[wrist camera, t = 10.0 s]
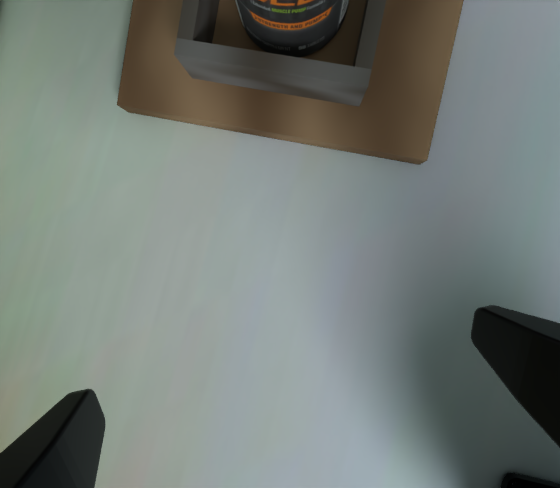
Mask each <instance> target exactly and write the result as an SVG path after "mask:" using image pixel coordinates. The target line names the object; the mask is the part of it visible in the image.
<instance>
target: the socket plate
mask: <svg viewBox="0 0 560 488" xmlns="http://www.w3.org/2000/svg"><path fill="white" fill-rule="evenodd" d="M463 1H464V0H349V4H348V9H347V13H346V16H345V19H344V21H343V23H342V25H341V27H340V29H339V31H338V32H337V33H336V35H335V36H334V37H333V39H332V40H331V41H330V42H329V43H328V44H326V45H325V46H324V47H323V48H321V49H320V50H318V51H316V52H314V53H312V54H309V55H307V56H303V57H299V58H298V57H292V56H286V55H280V54H273V53H267V52H266V51H264V50H262V49H261V48H260V47H258V46H257V45H256V44H255V43H254V42H253V41H252V40H251V38H250V37H249V36H248V34H247V33H246V30H245V28H244V26H243V24H242V21H241V18H240V15H239V12H238V8H237V5H236V2H235V0H133V5H132V12H131V18H130V24H129V31H128V37H127V44H126V50H125V56H124V63H123V69H122V76H121V82H120V88H119V95H118V101H117V105H118V106H120V107H121V108H123V109H124V110H126V111H127V112H130V113H136V114H141V115H147V116H152V117H158V118H164V119H169V120H175V121H180V122H186V123H191V124H197V125H202V126H208V127H214V128H219V129H225V130H230V131H236V132H241V133H247V134H252V135H258V136H264V137H269V138H275V139H280V140H286V141H291V142H297V143H302V144H308V145H314V146H319V147H325V148H330V149H336V150H341V151H347V152H352V153H358V154H364V155H369V156H375V157H380V158H386V159H391V160H397V161H402V162H408V163H414V164H421V163H423V162H425V161H427V159H428V154H429V150H430V146H431V141H432V137H433V132H434V128H435V124H436V119H437V115H438V111H439V106H440V102H441V97H442V93H443V89H444V84H445V80H446V75H447V71H448V67H449V62H450V58H451V53H452V49H453V45H454V40H455V36H456V32H457V27H458V23H459V18H460V14H461V10H462V5H463Z"/></svg>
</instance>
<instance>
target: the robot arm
mask: <svg viewBox="0 0 560 488" xmlns="http://www.w3.org/2000/svg"><path fill="white" fill-rule="evenodd" d="M471 339H472V342H473V344H474V345H475V347H476V348H477V349H478V351H479V352H480V353H481V355H482V356H483V357H484V359H485V360H486V361H487V362H488V364H489V365H490V366H491V368H492V369H493V370H494V372H495V373H496V374H497V375H498V377H499V378H500V379H501V381H502V382H503V383H504V385H505V386H506V387H507V388H508V390H509V391H510V392H511V394H512V395H513V396H514V397H515V399H516V400H517V401H518V402H519V403H520V404H521V406H522V407H523V408H524V409H525V410H526V411H527V412H528V413H529V414H530V416H531V417H532V418H533V419H534V420H535V421H536V422H537V423H538V424H539V426H540V427H541V428H542V429H543V430H544V431H545V432H546V433H547V434H548V435H549V437H550V438H551V439H552V440H553V441H554V442H555V443H556V444H557V445H558V447H559V448H560V323H557V322H553V321H550V320H546V319H543V318H539V317H535V316H532V315H528V314H524V313H521V312H517V311H514V310H510V309H506V308H503V307H499V306H495V305H489V306H485V307H480V308H478V309H476V311H475V313H474V318H473V324H472V330H471ZM104 432H105V417H104V414H103V412H102V409H101V407H100V404H99V401H98V399H97V396H96V394H95V392H94V391H93V390H92V389H85V390H80V391H75V392H71V393H69V394H68V395H66V396H65V397H64V398H63V399H62V400H60V401H59V402H58V403H57V404H56V405H55V406H54V407H53V408H51V409H50V410H49V411H48V412H47V413H46V414H45V415H43V416H42V417H41V418H40V419H39V420H38V421H37V422H35V423H34V424H33V425H32V426H31V427H30V428H29V429H27V430H26V431H25V432H24V433H23V434H22V435H21V436H20V437H18V438H17V439H16V440H15V441H14V442H13V443H12V444H10V445H9V446H8V447H7V448H6V449H5V450H4V451H2V452H1V453H0V488H94V487H95V481H96V476H97V470H98V465H99V459H100V454H101V448H102V443H103V437H104ZM514 482H516V483H515V484H513V483H514ZM512 484H513V485H512ZM501 488H560V484H558V483H554V482H550V481H546V480H542V479H538V478H534V477H529V476H525V475H521V474H517V473H507V474H506V475H505V476H504V478H503V481H502V485H501Z"/></svg>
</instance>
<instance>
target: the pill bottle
mask: <svg viewBox="0 0 560 488" xmlns="http://www.w3.org/2000/svg"><path fill="white" fill-rule="evenodd" d="M235 2H236V5H237V8H238V12H239V15H240V18H241V21H242V24H243V26H244V28H245V30H246V33H247V34H248V36H249V37H250V38H251V40H252V41H253V42H254V43H255V44H256V45H257V46H258V47H260V48H261V49H262V50H264V51H266V52H267V53H273V54H280V55H286V56H292V57H298V58H299V57H303V56H307V55H309V54H312V53H314V52H316V51H318V50H320V49H321V48H323V47H324V46H325V45H326V44H328V43H329V42H330V41H331V40H332V39H333V37H334V36H335V35H336V33H337V32H338V31H339V29H340V27H341V25H342V23H343V21H344V19H345V16H346V13H347V9H348V4H349V0H235Z"/></svg>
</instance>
